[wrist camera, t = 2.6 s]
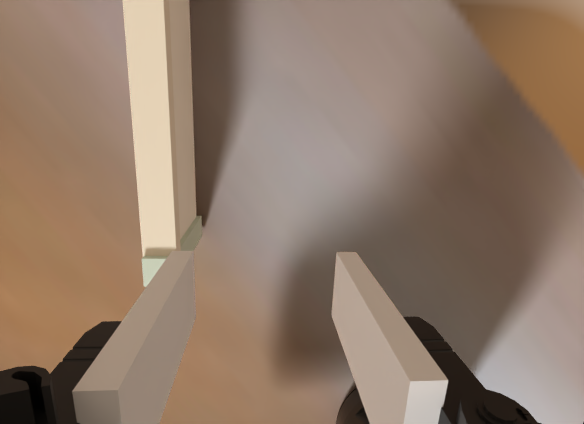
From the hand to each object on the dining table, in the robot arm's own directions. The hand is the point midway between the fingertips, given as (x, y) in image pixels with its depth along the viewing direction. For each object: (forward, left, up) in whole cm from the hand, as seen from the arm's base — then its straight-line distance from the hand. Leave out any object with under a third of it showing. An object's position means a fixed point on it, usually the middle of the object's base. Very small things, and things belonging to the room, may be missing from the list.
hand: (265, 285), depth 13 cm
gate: (+8, -7, -20) cm, 23 cm away
